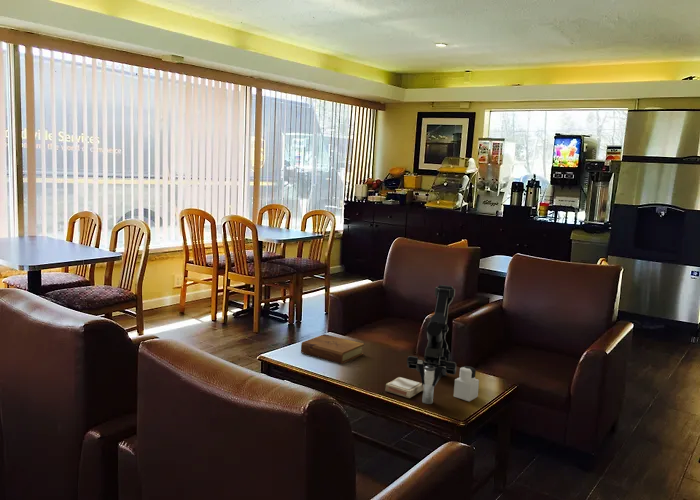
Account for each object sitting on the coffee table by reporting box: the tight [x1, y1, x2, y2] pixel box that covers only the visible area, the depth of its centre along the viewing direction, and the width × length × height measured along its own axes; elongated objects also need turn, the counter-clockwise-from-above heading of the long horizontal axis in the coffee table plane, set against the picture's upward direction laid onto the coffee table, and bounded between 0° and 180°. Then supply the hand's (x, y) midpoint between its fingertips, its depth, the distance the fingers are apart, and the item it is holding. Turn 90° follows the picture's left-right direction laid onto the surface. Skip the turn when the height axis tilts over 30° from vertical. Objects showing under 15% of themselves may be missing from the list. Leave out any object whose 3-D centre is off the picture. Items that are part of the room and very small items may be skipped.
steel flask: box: [421, 365, 436, 405], centre depth 218 cm, size 4×4×14 cm
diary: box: [300, 333, 365, 365], centre depth 270 cm, size 23×19×6 cm
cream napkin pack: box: [384, 376, 423, 399], centre depth 229 cm, size 11×11×3 cm
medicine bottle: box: [453, 365, 480, 402], centre depth 226 cm, size 7×7×12 cm
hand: (428, 385), depth 217 cm, fingers closed on steel flask, 4 cm apart
